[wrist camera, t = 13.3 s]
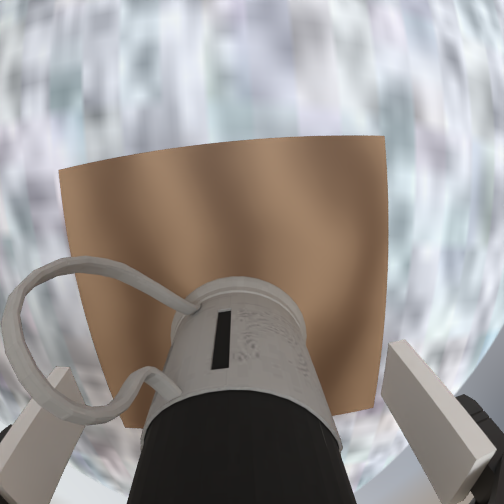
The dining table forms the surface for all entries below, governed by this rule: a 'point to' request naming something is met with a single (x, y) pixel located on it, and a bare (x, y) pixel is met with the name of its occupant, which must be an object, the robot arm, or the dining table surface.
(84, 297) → the walnut board
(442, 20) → the dining table surface
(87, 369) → the dining table surface
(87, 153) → the dining table surface
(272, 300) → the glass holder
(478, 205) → the dining table surface
